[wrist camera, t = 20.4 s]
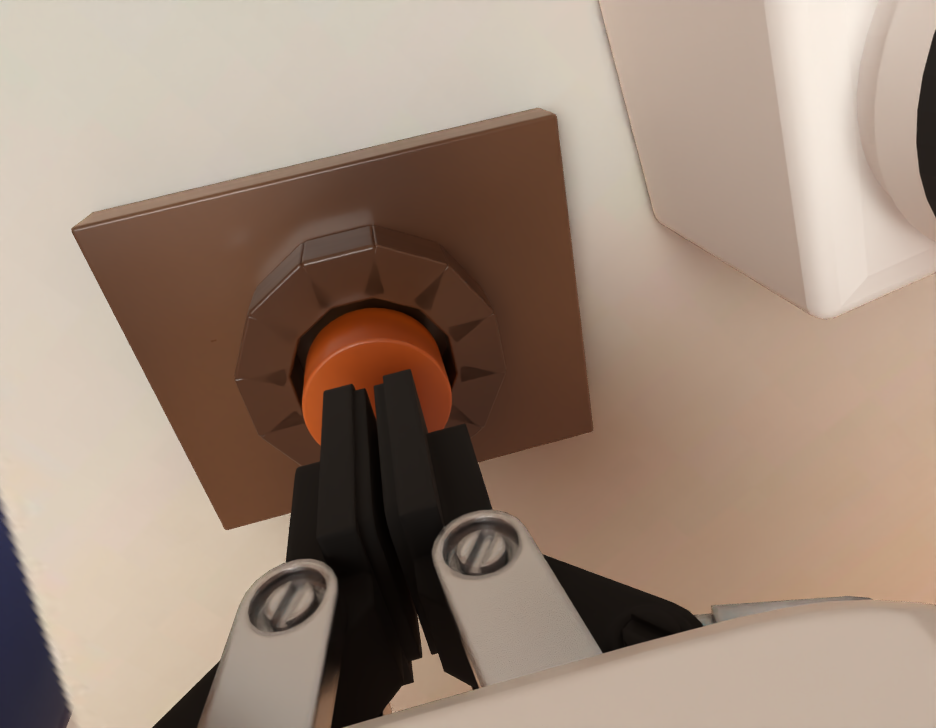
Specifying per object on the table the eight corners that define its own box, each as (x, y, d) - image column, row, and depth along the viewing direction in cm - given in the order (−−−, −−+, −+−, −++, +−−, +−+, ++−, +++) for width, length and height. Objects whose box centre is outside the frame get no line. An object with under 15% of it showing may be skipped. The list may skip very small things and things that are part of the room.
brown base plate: (232, 500, 19) (215, 574, 17) (90, 212, 15) (37, 251, 12) (579, 407, 20) (615, 464, 17) (540, 106, 16) (580, 122, 13)
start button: (328, 440, 16) (327, 483, 14) (287, 326, 14) (280, 362, 13) (453, 406, 16) (465, 446, 15) (424, 291, 15) (435, 322, 13)
